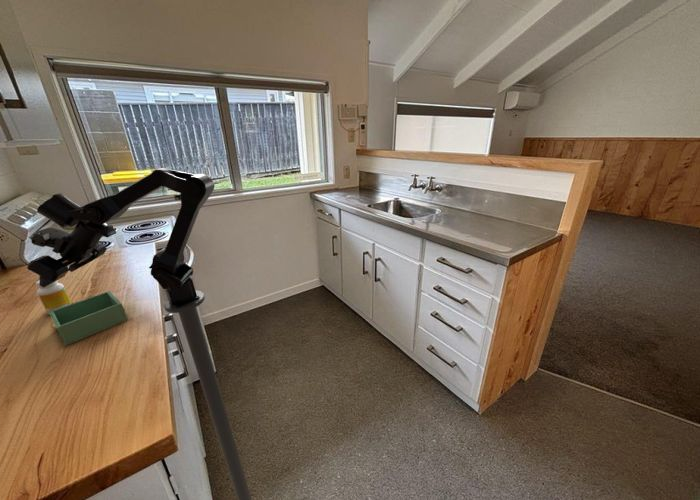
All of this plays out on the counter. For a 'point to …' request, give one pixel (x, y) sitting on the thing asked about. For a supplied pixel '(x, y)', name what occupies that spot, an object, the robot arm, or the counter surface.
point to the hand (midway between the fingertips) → (57, 278)
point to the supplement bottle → (53, 296)
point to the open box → (88, 317)
